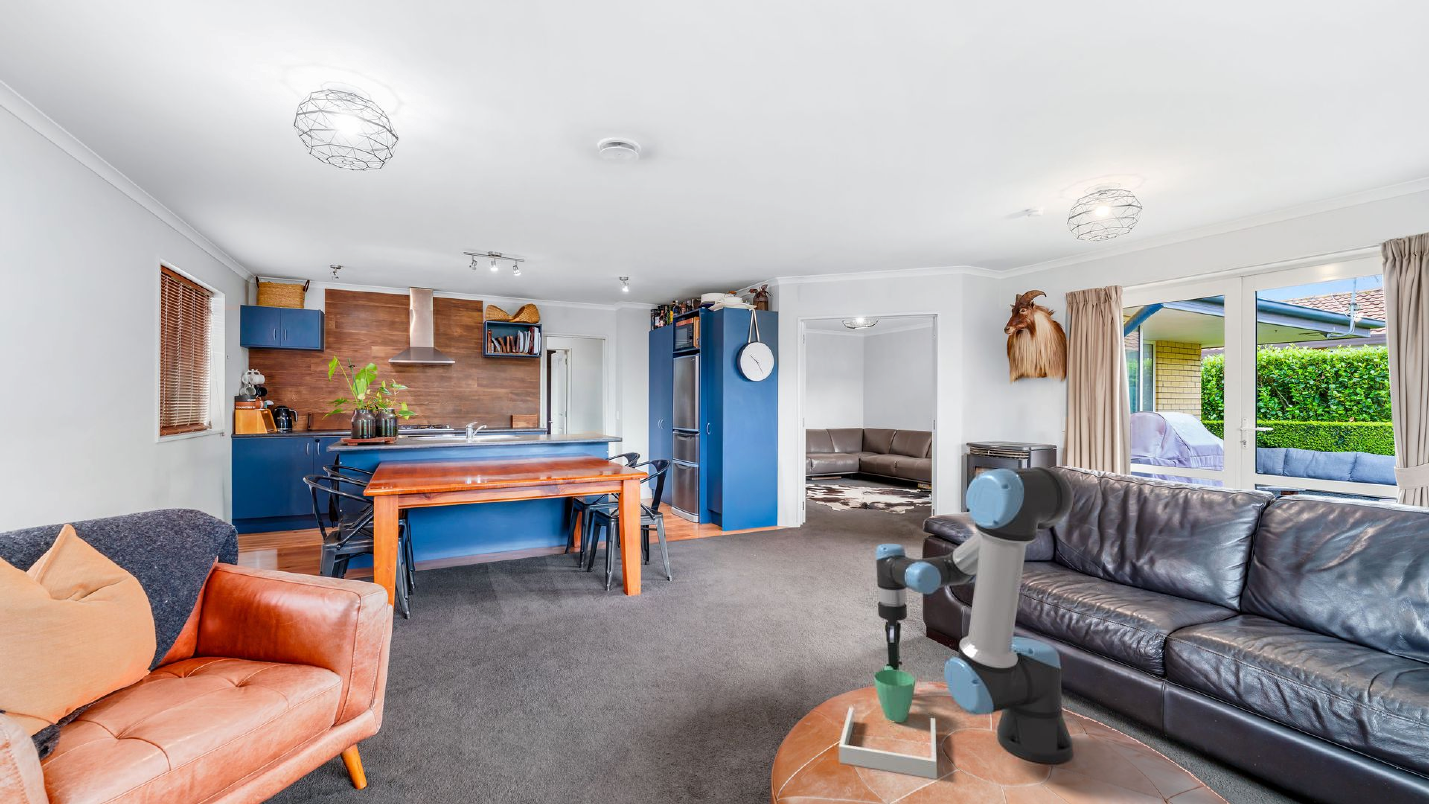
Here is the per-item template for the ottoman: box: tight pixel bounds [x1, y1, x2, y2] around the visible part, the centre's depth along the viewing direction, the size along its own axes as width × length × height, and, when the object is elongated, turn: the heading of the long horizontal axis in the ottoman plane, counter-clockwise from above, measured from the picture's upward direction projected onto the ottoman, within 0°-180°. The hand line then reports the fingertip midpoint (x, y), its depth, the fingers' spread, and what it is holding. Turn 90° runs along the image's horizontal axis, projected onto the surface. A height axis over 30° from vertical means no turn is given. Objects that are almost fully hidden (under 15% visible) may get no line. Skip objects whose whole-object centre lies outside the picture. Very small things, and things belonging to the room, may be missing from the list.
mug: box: [873, 666, 916, 723], centre depth 150 cm, size 15×10×10 cm
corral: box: [838, 706, 938, 780], centre depth 135 cm, size 20×19×4 cm
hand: (895, 690), depth 160 cm, fingers closed
